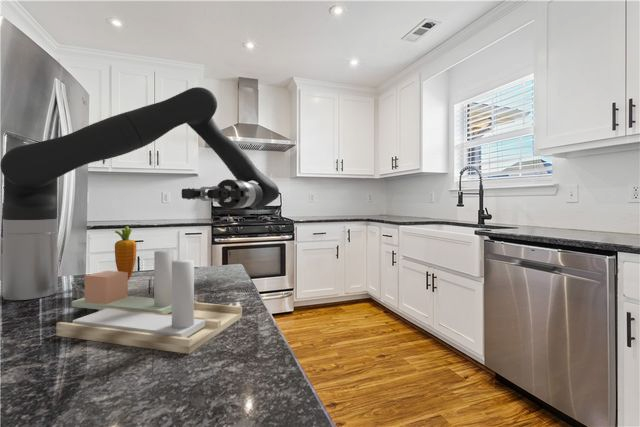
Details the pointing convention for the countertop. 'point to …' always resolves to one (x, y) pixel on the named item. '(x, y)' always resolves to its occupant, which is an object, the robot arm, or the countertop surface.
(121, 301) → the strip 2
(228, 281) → the countertop surface
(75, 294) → the egg carton
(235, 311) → the board
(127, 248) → the carrot
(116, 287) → the cube
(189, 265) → the strip
